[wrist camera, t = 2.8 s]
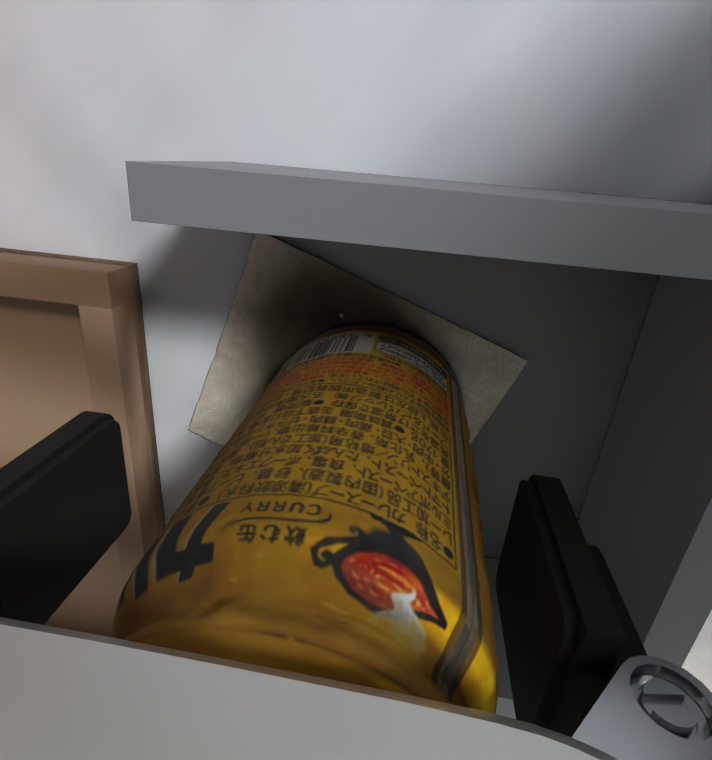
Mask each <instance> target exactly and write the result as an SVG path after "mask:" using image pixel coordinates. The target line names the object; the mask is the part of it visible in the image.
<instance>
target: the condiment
mask: <svg viewBox="0 0 712 760" xmlns="http://www.w3.org/2000/svg"><path fill="white" fill-rule="evenodd" d="M339 313H340V314H344V316H343V318H340V317H339ZM216 352H217V354H216V355H215V357H214V359H213V362H212V365H211V367H210V370H209V373H208V376H207V378H206V381H205V384H204V387H203V390H202V393H201V396H200V400H199V402H198V404H197V407H196V409H195V412H194V415H193V418H192V421H191V424H190V427H189V430H190V431H192V432H194V433H197V434H199V435H201V436H203V437H205V438H206V439H208V440H210V441H212V442H215V443H217V444H220V445H223V446H224V447H223V448H222V450H221V451H220V452H219V454H218V455H217V457H216V458H215V459H214V461H213V462H212V463H211V464H210V466H209V468H208V469H207V470H206V472H205V473H204V474H203V475H202V476H201V478H200V479H199V481H198V482H197V484H196V485H195V486H194V488H193V489H192V490H191V492H190V493H189V495H188V496H187V497H186V498H185V500H184V501H183V503H182V504H181V505H180V507H179V508H178V509H177V510H176V512H175V513H174V515H173V516H172V518H171V519H170V520H169V522H168V523H167V524H166V526H165V527H164V528H163V530H162V531H161V533H160V534H159V535H158V536H157V537H156V538H155V539H154V541H153V542H152V544H151V546H150V547H149V549H148V551H147V552H146V554H145V555H144V556H143V558H142V559H141V560H140V562H139V563H138V564H137V565H136V567H135V568H134V570H133V572H132V574H131V575H130V577H129V579H128V581H127V583H126V584H125V586H124V588H123V590H122V593H121V595H120V598H119V601H118V603H117V608H116V612H115V616H114V619H113V626H112V638H117V639H122V640H127V641H133V642H138V643H143V644H149V645H154V646H159V647H165V648H170V649H175V650H180V651H186V652H191V653H196V654H201V655H207V656H212V657H217V658H222V659H228V660H233V661H238V662H243V663H249V664H254V665H259V666H264V667H270V668H275V669H280V670H285V671H290V672H295V673H300V674H305V675H310V676H315V677H321V678H326V679H331V680H336V681H341V682H346V683H351V684H356V685H361V686H366V687H371V688H377V689H382V690H387V691H392V692H397V693H402V694H406V695H411V696H416V697H420V698H425V699H430V700H434V701H439V702H444V703H448V704H453V705H458V706H462V707H467V708H472V709H476V710H481V711H486V712H490V713H493V714H496V708H497V700H498V680H497V665H498V656H497V654H496V638H495V635H494V632H493V621H492V616H493V612H494V610H493V604H492V602H491V599H490V590H491V589H490V582H489V579H488V575H487V572H486V565H485V558H484V554H483V538H482V534H481V531H482V522H481V519H480V516H479V508H478V504H479V500H478V492H477V481H476V475H475V473H474V470H473V462H474V457H473V455H472V453H471V447H470V444H471V443H472V441H473V440H474V439H475V437H476V436H477V434H478V433H479V431H480V430H481V428H482V427H483V426H484V424H485V422H486V421H487V420H488V418H489V417H490V416H491V414H492V413H493V412H494V410H495V409H496V407H497V406H498V405H499V403H500V402H501V401H502V399H503V398H504V396H505V395H506V393H507V392H508V390H509V389H510V388H511V386H512V385H513V383H514V382H515V380H516V379H517V377H518V376H519V374H520V373H521V371H522V370H523V368H524V367H525V365H526V364H527V362H528V361H527V360H525V359H523V358H521V357H519V356H517V355H515V354H513V353H511V352H509V351H507V350H505V349H503V348H501V347H499V346H497V345H495V344H493V343H491V342H489V341H487V340H485V339H483V338H481V337H479V336H477V335H475V334H473V333H471V332H469V331H467V330H465V329H462V328H459V327H458V326H456V325H454V324H452V323H450V322H449V321H447V320H445V319H443V318H441V317H438V316H436V315H435V314H433V313H431V312H428V311H426V310H423V309H421V308H419V307H418V306H416V305H414V304H412V303H410V302H407V301H405V300H403V299H401V298H398V297H396V296H394V295H393V294H391V293H389V292H386V291H384V290H381V289H379V288H376V287H374V286H372V285H370V284H368V283H366V282H363V281H362V280H360V279H359V278H357V277H355V276H353V275H351V274H349V273H347V272H344V271H342V270H340V269H338V268H336V267H334V266H333V265H331V264H329V263H327V262H325V261H323V260H321V259H318V258H316V257H314V256H312V255H310V254H307V253H305V252H303V251H300V250H298V249H296V248H293V247H291V246H289V245H287V244H285V243H283V242H282V241H280V240H278V239H276V238H274V237H272V236H270V235H266V234H256V233H255V236H254V239H253V242H252V245H251V247H250V250H249V254H248V258H247V262H246V265H245V268H244V270H243V273H242V276H241V280H240V283H239V286H238V289H237V292H236V294H235V297H234V301H233V303H232V306H231V309H230V313H229V316H228V319H227V322H226V325H225V327H224V330H223V333H222V336H221V339H220V341H219V344H218V347H217V351H216Z"/></svg>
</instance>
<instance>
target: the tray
mask: <svg viewBox="0 0 712 760" xmlns="http://www.w3.org/2000/svg"><path fill="white" fill-rule="evenodd" d="M84 411H92V412H99V413H106V414H110V415H112V416H113V418H114V420H115V421H117V422H118V423H119V424H120V428H121V436H122V444H123V452H124V459H125V467H126V475H127V482H128V490H129V498H130V506H131V519H130V522H129V524H128V526H127V528H126V529H125V530H124V531H123V533H122V534H121V535H120V536H119V537H118V538H117V540H116V541H115V542H114V543H113V544H112V545H111V547H110V548H109V549H108V550H107V551H106V552H105V554H104V555H103V556H102V557H101V558H100V559H99V561H98V562H97V563H96V564H95V565H94V567H93V568H92V569H91V570H90V571H89V572H88V574H87V575H86V576H85V577H84V578H83V579H82V581H81V582H80V583H79V584H78V585H77V586H76V588H75V589H74V590H73V591H72V592H71V593H70V595H69V596H68V597H67V598H66V599H65V601H64V602H63V603H62V604H61V605H60V606H59V608H58V609H57V610H56V611H55V612H54V613H53V615H52V616H51V617H50V618H49V619H48V620H47V622H46V623H45V624H44V625H46V626H51V627H57V628H62V629H68V630H73V631H79V632H84V633H90V634H95V635H101V636H106V637H111V638H112V626H113V619H114V616H115V612H116V608H117V603H118V601H119V598H120V595H121V593H122V590H123V588H124V586H125V584H126V583H127V581H128V579H129V577H130V575H131V574H132V572H133V570H134V568H135V567H136V565H137V564H138V563H139V562H140V560H141V559H142V558H143V556H144V555H145V554H146V552H147V551H148V549H149V547H150V546H151V544H152V542H153V541H154V539H155V538H156V537H157V536H158V535H159V534H160V533H161V531H162V530H163V528H164V527H165V521H164V512H163V503H162V493H161V484H160V474H159V465H158V455H157V446H156V436H155V427H154V418H153V408H152V399H151V389H150V380H149V370H148V361H147V351H146V342H145V333H144V323H143V314H142V304H141V295H140V285H139V276H138V267H137V263H131V262H122V261H113V260H104V259H95V258H86V257H77V256H68V255H59V254H50V253H41V252H32V251H23V250H14V249H5V248H0V468H2V467H3V466H5V465H6V464H8V463H9V462H10V461H12V460H13V459H15V458H16V457H18V456H19V455H21V454H22V453H23V452H25V451H26V450H28V449H29V448H31V447H32V446H34V445H35V444H36V443H38V442H39V441H41V440H42V439H44V438H45V437H47V436H48V435H49V434H51V433H52V432H54V431H55V430H57V429H58V428H60V427H61V426H63V425H64V424H65V423H67V422H68V421H70V420H71V419H73V418H74V417H76V416H77V415H78V414H80V413H81V412H84Z"/></svg>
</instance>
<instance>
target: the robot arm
mask: <svg viewBox="0 0 712 760" xmlns="http://www.w3.org/2000/svg"><path fill="white" fill-rule="evenodd" d="M130 519H131V506H130V498H129V490H128V482H127V475H126V467H125V459H124V452H123V444H122V436H121V428H120V424H119V423H118V422H117V421H115V420H114V418H113V416H112V415H110V414H106V413H99V412H92V411H84V412H81V413H80V414H78V415H77V416H76V417H74V418H73V419H71V420H70V421H68V422H67V423H65V424H64V425H63V426H61V427H60V428H58V429H57V430H55V431H54V432H52V433H51V434H49V435H48V436H47V437H45V438H44V439H42V440H41V441H39V442H38V443H36V444H35V445H34V446H32V447H31V448H29V449H28V450H26V451H25V452H23V453H22V454H21V455H19V456H18V457H16V458H15V459H13V460H12V461H10V462H9V463H8V464H6V465H5V466H3V467H2V468H0V760H712V693H711V692H710V691H709V689H708V688H707V687H706V686H705V685H704V684H703V683H702V682H701V681H699V680H698V679H697V678H696V677H694V676H693V675H692V674H690V673H689V672H688V671H686V670H685V669H683V668H681V667H679V666H677V665H676V664H674V663H672V662H670V661H667V660H664V659H661V658H658V657H655V656H648V655H647V653H646V651H645V648H644V646H643V644H642V642H641V639H640V637H639V635H638V633H637V631H636V628H635V626H634V624H633V622H632V619H631V617H630V615H629V613H628V610H627V608H626V606H625V604H624V601H623V599H622V597H621V595H620V592H619V590H618V588H617V586H616V584H615V581H614V579H613V577H612V575H611V572H610V570H609V568H608V566H607V563H606V561H605V559H604V557H603V554H602V553H601V551H600V549H599V548H598V547H597V546H595V545H589V544H587V542H586V540H585V537H584V535H583V532H582V530H581V528H580V525H579V523H578V520H577V518H576V516H575V513H574V511H573V509H572V506H571V504H570V501H569V499H568V497H567V494H566V492H565V489H564V487H563V485H562V482H561V480H560V479H558V478H553V477H546V476H539V475H531V476H530V478H529V481H528V480H521V482H520V484H519V487H518V491H517V495H516V499H515V503H514V507H513V511H512V515H511V519H510V522H509V526H508V530H507V534H506V538H505V542H504V546H503V550H502V554H501V558H500V561H499V565H498V569H497V574H496V593H497V599H498V606H499V612H500V619H501V625H502V631H503V638H504V644H505V651H506V657H507V664H508V670H509V677H510V683H511V689H512V696H513V702H514V709H515V715H516V719H512V718H509V717H505V716H501V715H497V714H493V713H490V712H486V711H481V710H476V709H472V708H467V707H462V706H458V705H453V704H448V703H444V702H439V701H434V700H430V699H425V698H420V697H416V696H411V695H406V694H402V693H397V692H392V691H387V690H382V689H377V688H371V687H366V686H361V685H356V684H351V683H346V682H341V681H336V680H331V679H326V678H321V677H315V676H310V675H305V674H300V673H295V672H290V671H285V670H280V669H275V668H270V667H264V666H259V665H254V664H249V663H243V662H238V661H233V660H228V659H222V658H217V657H212V656H207V655H201V654H196V653H191V652H186V651H180V650H175V649H170V648H165V647H159V646H154V645H149V644H143V643H138V642H133V641H127V640H122V639H117V638H111V637H106V636H101V635H95V634H90V633H84V632H79V631H73V630H68V629H62V628H57V627H51V626H46V625H44V624H45V623H46V622H47V620H48V619H49V618H50V617H51V616H52V615H53V613H54V612H55V611H56V610H57V609H58V608H59V606H60V605H61V604H62V603H63V602H64V601H65V599H66V598H67V597H68V596H69V595H70V593H71V592H72V591H73V590H74V589H75V588H76V586H77V585H78V584H79V583H80V582H81V581H82V579H83V578H84V577H85V576H86V575H87V574H88V572H89V571H90V570H91V569H92V568H93V567H94V565H95V564H96V563H97V562H98V561H99V559H100V558H101V557H102V556H103V555H104V554H105V552H106V551H107V550H108V549H109V548H110V547H111V545H112V544H113V543H114V542H115V541H116V540H117V538H118V537H119V536H120V535H121V534H122V533H123V531H124V530H125V529H126V528H127V526H128V524H129V522H130Z"/></svg>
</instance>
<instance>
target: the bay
mask: <svg viewBox="0 0 712 760" xmlns="http://www.w3.org/2000/svg"><path fill="white" fill-rule="evenodd" d="M125 162H126V171H127V180H128V190H129V199H130V209H131V218H132V221H139V222H149V223H159V224H168V225H178V226H188V227H198V228H208V229H217V230H227V231H237V232H247V233H256V234H266V235H276V236H286V237H296V238H305V239H315V240H325V241H335V242H344V243H354V244H364V245H374V246H383V247H393V248H403V249H413V250H423V251H432V252H442V253H452V254H462V255H471V256H481V257H491V258H501V259H511V260H520V261H530V262H540V263H550V264H559V265H569V266H579V267H589V268H598V269H608V270H618V271H628V272H638V273H647V274H657V275H660V277H659V280H658V283H657V286H656V289H655V292H654V295H653V298H652V301H651V304H650V307H649V310H648V313H647V316H646V319H645V322H644V325H643V328H642V331H641V334H640V337H639V340H638V343H637V346H636V349H635V352H634V355H633V358H632V361H631V364H630V367H629V370H628V373H627V376H626V379H625V382H624V385H623V388H622V391H621V394H620V397H619V400H618V403H617V406H616V409H615V412H614V415H613V418H612V421H611V424H610V427H609V430H608V433H607V436H606V439H605V442H604V445H603V448H602V451H601V454H600V457H599V460H598V463H597V466H596V469H595V472H594V475H593V478H592V481H591V484H590V487H589V490H588V493H587V496H586V499H585V502H584V505H583V508H582V511H581V514H580V517H579V520H578V523H579V525H580V528H581V530H582V532H583V535H584V537H585V540H586V542H587V544H589V545H595V546H597V547H598V548H599V549H600V551H601V553H602V554H603V557H604V559H605V561H606V563H607V566H608V568H609V570H610V572H611V575H612V577H613V579H614V581H615V584H616V586H617V588H618V590H619V592H620V595H621V597H622V599H623V601H624V604H625V606H626V608H627V610H628V613H629V615H630V617H631V619H632V622H633V624H634V626H635V628H636V631H637V633H638V635H639V637H640V639H641V642H642V644H643V646H644V648H645V651H646V653H647V655H648V656H655V657H658V658H661V659H664V660H667V661H670V662H672V663H674V664H676V665H677V666H679V667H682V665H683V663H684V661H685V659H686V657H687V655H688V653H689V651H690V649H691V647H692V646H693V644H694V642H695V640H696V638H697V636H698V634H699V632H700V630H701V628H702V627H703V625H704V623H705V621H706V619H707V617H708V615H709V613H710V611H711V609H712V204H703V203H692V202H681V201H669V200H658V199H647V198H635V197H624V196H613V195H601V194H590V193H579V192H567V191H556V190H545V189H533V188H522V187H511V186H500V185H488V184H477V183H466V182H454V181H443V180H432V179H420V178H409V177H398V176H386V175H375V174H364V173H352V172H341V171H330V170H318V169H307V168H296V167H284V166H273V165H262V164H250V163H239V162H185V161H125ZM484 558H485V565H486V572H487V575H488V579H489V582H490V589H491V590H490V599H491V602H492V604H493V610H494V612H493V616H492V621H493V632H494V635H495V638H496V654H497V656H498V665H497V680H498V700H497V708H496V714H497V715H501V716H505V717H509V718H512V719H516V715H515V709H514V702H513V696H512V689H511V683H510V677H509V670H508V664H507V657H506V651H505V644H504V638H503V631H502V625H501V619H500V612H499V606H498V599H497V593H496V574H497V569H498V565H499V561H500V560H499V559H493V558H487V557H484Z"/></svg>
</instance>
